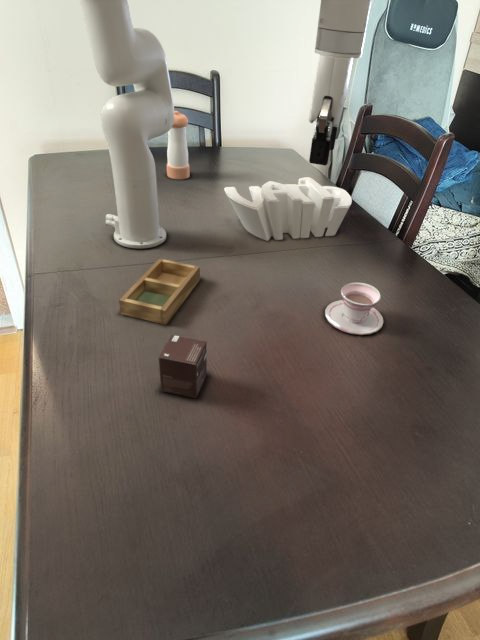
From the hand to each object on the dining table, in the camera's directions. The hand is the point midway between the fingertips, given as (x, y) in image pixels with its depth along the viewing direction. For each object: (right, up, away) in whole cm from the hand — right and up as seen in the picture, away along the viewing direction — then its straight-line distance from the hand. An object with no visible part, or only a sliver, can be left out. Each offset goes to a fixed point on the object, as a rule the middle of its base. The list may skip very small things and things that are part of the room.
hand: (321, 156), depth 83 cm
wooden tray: (-31, -24, +11) cm, 41 cm away
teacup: (+8, -29, +11) cm, 32 cm away
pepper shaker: (-38, +21, +66) cm, 79 cm away
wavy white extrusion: (-3, -1, +43) cm, 43 cm away
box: (-24, -41, -8) cm, 48 cm away
